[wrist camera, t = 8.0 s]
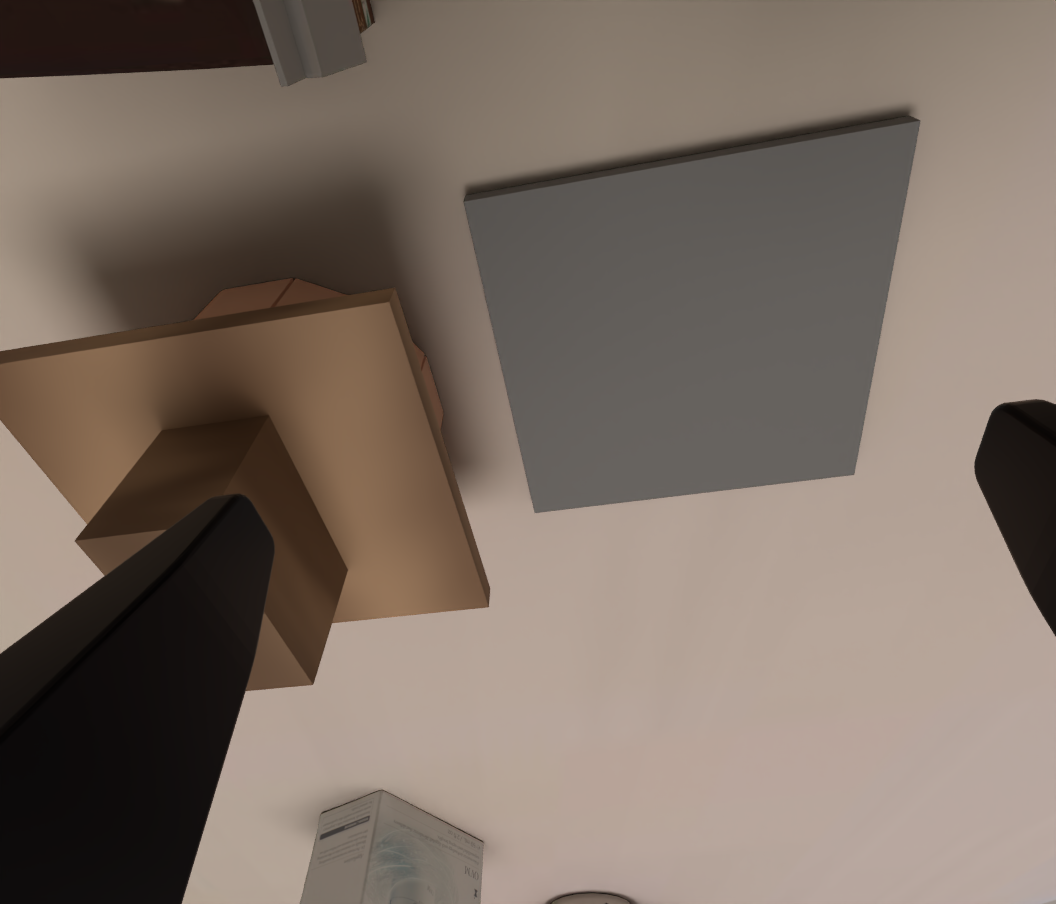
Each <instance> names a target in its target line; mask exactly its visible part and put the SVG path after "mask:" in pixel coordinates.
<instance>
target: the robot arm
mask: <svg viewBox="0 0 1056 904" xmlns="http://www.w3.org/2000/svg"><path fill="white" fill-rule="evenodd" d="M974 468H975V475H976V479H977V482H978V484H979V486H980V488H981V491H982V493H983V495H984V497H985V499H986V501H987V503H988V506H989V508H990V510H991V512H992V514H993V516H994V519H995V521H996V523H997V525H998V527H999V529H1000V532H1001V534H1002V536H1003V538H1004V540H1005V542H1006V544H1007V547H1008V549H1009V551H1010V553H1011V555H1012V557H1013V560H1014V562H1015V564H1016V566H1017V568H1018V570H1019V572H1020V575H1021V577H1022V579H1023V581H1024V583H1025V585H1026V587H1027V588H1028V590H1029V592H1030V594H1031V596H1032V598H1033V600H1034V601H1035V603H1036V605H1037V606H1038V608H1039V610H1040V612H1041V613H1042V615H1043V617H1044V618H1045V620H1046V622H1047V623H1048V625H1049V626H1050V628H1051V630H1052V631H1053V633H1054V635H1055V636H1056V404H1053V403H1051V402H1048V401H1045V400H1038V399H1034V400H1025V401H1017V402H1008V403H1003V404H1001V405H998V406H997V407H996V408H995V409H994V410H993V411H992V413H991V415H990V418H989V420H988V423H987V426H986V429H985V432H984V435H983V438H982V441H981V444H980V447H979V449H978V452H977V455H976V459H975V466H974ZM274 556H275V544H274V540H273V537H272V535H271V533H270V531H269V529H268V528H267V526H266V524H265V523H264V521H263V520H262V518H261V516H260V515H259V513H258V511H257V510H256V508H255V506H254V505H253V503H252V501H251V500H250V499H249V498H248V497H247V496H246V495H244V494H240V493H236V494H228V495H219V496H214V497H211V498H209V499H207V500H206V501H205V502H203V503H202V504H201V505H199V506H198V507H197V508H195V509H194V510H193V511H191V512H190V513H189V514H187V515H186V516H185V517H183V518H182V519H181V520H179V521H178V522H177V523H175V524H174V525H172V526H171V527H170V528H168V529H167V530H166V531H164V532H163V533H162V534H160V535H159V536H158V537H156V538H155V539H154V540H152V541H151V542H150V543H148V544H147V545H146V546H144V547H143V548H142V549H140V550H139V551H138V552H136V553H135V554H134V555H132V556H131V557H130V558H128V559H127V560H126V561H124V562H123V563H121V564H120V565H119V566H117V567H116V568H115V569H113V570H112V571H111V572H109V573H108V574H107V575H105V576H104V577H103V578H101V579H100V580H99V581H97V582H96V583H95V584H93V585H92V586H91V587H89V588H88V589H87V590H85V591H84V592H83V593H81V594H80V595H79V596H77V597H76V598H74V599H73V600H72V601H70V602H69V603H68V604H66V605H65V606H64V607H62V608H61V609H60V610H58V611H57V612H56V613H54V614H53V615H52V616H50V617H49V618H48V619H46V620H45V621H44V622H42V623H41V624H40V625H38V626H37V627H36V628H34V629H33V630H32V631H30V632H29V633H28V634H26V635H25V636H23V637H22V638H21V639H19V640H18V641H17V642H15V643H14V644H13V645H11V646H10V647H9V648H7V649H6V650H5V651H3V652H2V653H1V654H0V904H182V901H183V897H184V894H185V891H186V887H187V884H188V881H189V877H190V874H191V871H192V867H193V864H194V861H195V857H196V854H197V851H198V847H199V844H200V841H201V838H202V834H203V831H204V828H205V824H206V821H207V818H208V814H209V811H210V808H211V804H212V801H213V798H214V794H215V791H216V788H217V784H218V781H219V778H220V774H221V771H222V768H223V764H224V761H225V758H226V754H227V751H228V748H229V744H230V741H231V738H232V734H233V731H234V728H235V724H236V721H237V718H238V714H239V711H240V708H241V704H242V701H243V698H244V694H245V691H246V688H247V684H248V681H249V678H250V674H251V671H252V667H253V663H254V659H255V655H256V651H257V646H258V642H259V636H260V631H261V626H262V620H263V615H264V610H265V604H266V599H267V593H268V588H269V583H270V577H271V572H272V567H273V561H274Z"/></svg>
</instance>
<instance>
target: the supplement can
mask: <svg viewBox="0 0 1056 904" xmlns="http://www.w3.org/2000/svg"><path fill="white" fill-rule="evenodd" d="M552 904H630V903H629V902H628V901H627V900H625V899H623V898H620V897H618V896H613V895H608V894H597V893H586V894H575V895H570V896H565V897H562V898H560V899H558V900H555V901H554V902H553V903H552Z"/></svg>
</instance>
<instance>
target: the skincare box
mask: <svg viewBox="0 0 1056 904" xmlns="http://www.w3.org/2000/svg"><path fill="white" fill-rule="evenodd" d="M483 846H484V845H483V842H481V841H479V840H477V839H476V838H474V837H472V836H470V835H468V834H466V833H464V832H462V831H460V830H458V829H456V828H454V827H453V826H451V825H449V824H447V823H445V822H443V821H441V820H439V819H437V818H435V817H433V816H432V815H430V814H428V813H426V812H424V811H422V810H420V809H418V808H416V807H414V806H413V805H411V804H409V803H407V802H405V801H403V800H401V799H399V798H397V797H395V796H393V795H391V794H389V793H387V792H385V791H383V790H381V791H378V792H375V793H372V794H370V795H367V796H365V797H363V798H361V799H358V800H356V801H354V802H350V803H348V804H345V805H343V806H340V807H338V808H335V809H333V810H330V811H328V812H325V813H323V814H321V816H320V820H319V824H318V830H317V834H316V839H315V843H314V847H313V851H312V856H311V860H310V864H309V868H308V872H307V876H306V880H305V884H304V889H303V893H302V897H301V901H300V904H480V903H481V883H482V865H483Z"/></svg>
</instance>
